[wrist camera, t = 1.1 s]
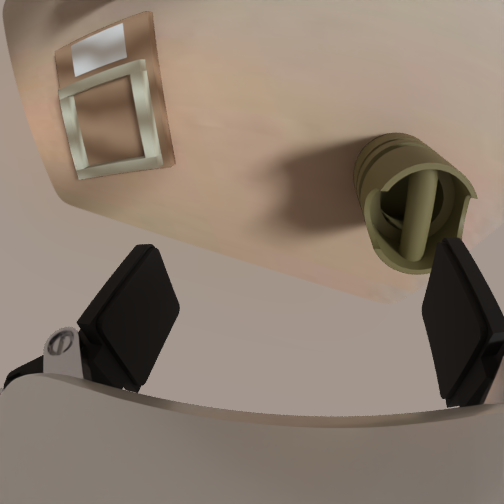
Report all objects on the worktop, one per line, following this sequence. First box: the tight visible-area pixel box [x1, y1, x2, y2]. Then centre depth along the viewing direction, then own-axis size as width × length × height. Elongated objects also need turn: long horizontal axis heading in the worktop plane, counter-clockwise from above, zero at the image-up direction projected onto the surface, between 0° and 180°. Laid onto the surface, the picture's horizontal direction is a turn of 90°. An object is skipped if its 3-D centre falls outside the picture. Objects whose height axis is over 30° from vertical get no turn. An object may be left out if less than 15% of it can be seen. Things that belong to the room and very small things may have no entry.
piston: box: [353, 133, 478, 275], centre depth 29 cm, size 11×12×11 cm
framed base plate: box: [55, 11, 176, 180], centre depth 33 cm, size 21×16×3 cm
